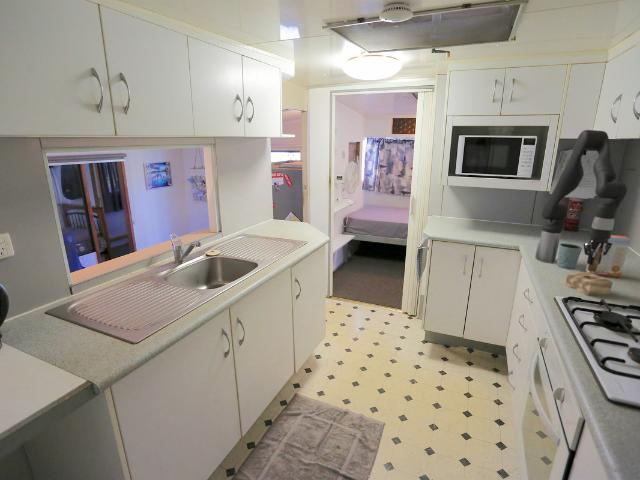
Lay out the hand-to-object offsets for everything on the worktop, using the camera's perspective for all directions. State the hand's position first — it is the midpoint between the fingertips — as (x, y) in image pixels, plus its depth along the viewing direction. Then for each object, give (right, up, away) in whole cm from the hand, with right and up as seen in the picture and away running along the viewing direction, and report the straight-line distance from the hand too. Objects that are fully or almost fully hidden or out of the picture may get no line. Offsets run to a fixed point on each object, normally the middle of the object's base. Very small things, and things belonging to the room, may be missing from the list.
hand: (593, 263), depth 164 cm
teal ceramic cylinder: (+10, -4, +33) cm, 35 cm away
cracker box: (+22, -7, +23) cm, 33 cm away
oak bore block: (0, -12, +4) cm, 13 cm away
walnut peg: (0, -3, +1) cm, 3 cm away
